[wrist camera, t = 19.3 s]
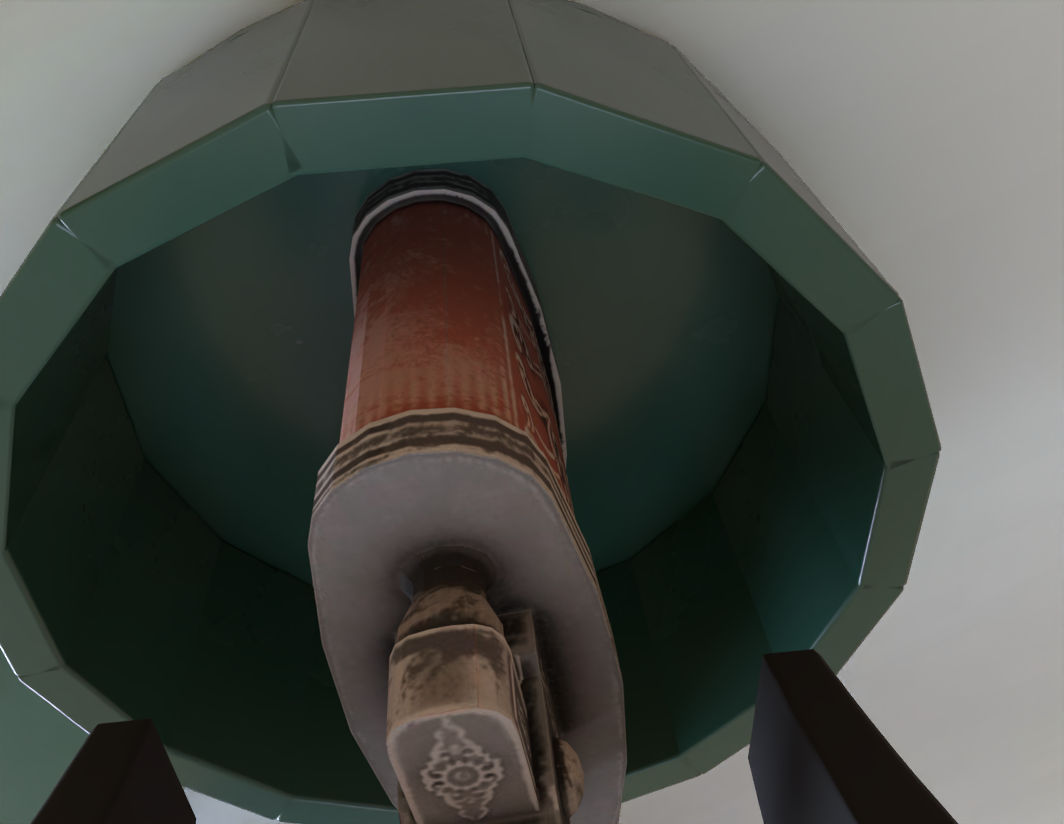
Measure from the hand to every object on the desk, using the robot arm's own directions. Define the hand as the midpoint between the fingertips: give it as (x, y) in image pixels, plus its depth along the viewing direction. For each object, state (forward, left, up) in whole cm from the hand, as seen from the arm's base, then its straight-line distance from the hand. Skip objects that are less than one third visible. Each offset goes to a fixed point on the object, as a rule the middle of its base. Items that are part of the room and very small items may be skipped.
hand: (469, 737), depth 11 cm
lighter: (0, 0, -8) cm, 8 cm away
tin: (0, 0, -8) cm, 8 cm away
